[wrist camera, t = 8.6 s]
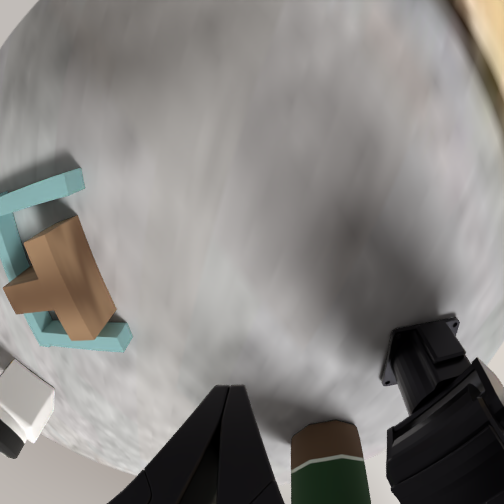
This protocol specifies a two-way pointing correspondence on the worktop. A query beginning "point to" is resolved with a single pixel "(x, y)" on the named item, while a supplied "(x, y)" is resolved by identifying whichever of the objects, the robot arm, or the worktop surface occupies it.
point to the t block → (63, 281)
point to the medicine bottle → (22, 407)
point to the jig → (15, 262)
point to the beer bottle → (328, 465)
